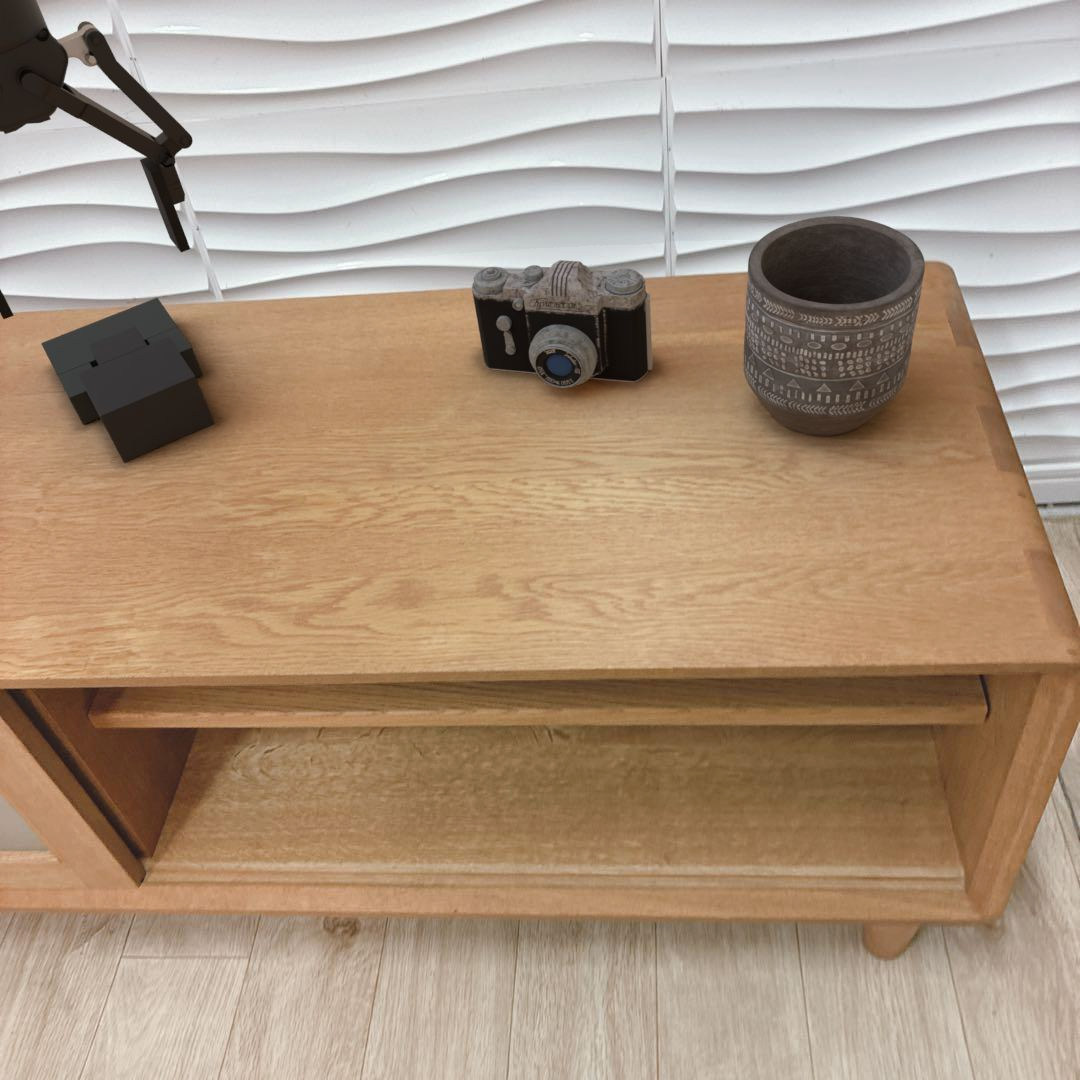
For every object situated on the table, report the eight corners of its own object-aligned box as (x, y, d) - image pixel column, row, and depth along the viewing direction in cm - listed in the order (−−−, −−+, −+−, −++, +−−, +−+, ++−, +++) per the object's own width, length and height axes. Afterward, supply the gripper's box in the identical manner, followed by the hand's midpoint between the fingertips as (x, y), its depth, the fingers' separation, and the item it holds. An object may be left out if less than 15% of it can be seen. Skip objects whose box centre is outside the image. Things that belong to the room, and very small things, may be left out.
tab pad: (124, 463, 89) (99, 416, 85) (90, 399, 95) (66, 353, 92) (215, 423, 91) (195, 376, 87) (175, 363, 98) (156, 317, 94)
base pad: (83, 425, 93) (68, 398, 90) (55, 369, 99) (40, 343, 97) (203, 374, 96) (192, 347, 94) (168, 323, 102) (157, 297, 100)
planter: (847, 338, 90) (865, 199, 81) (932, 424, 82) (962, 279, 73) (715, 381, 88) (717, 242, 79) (789, 472, 80) (801, 330, 71)
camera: (467, 391, 90) (447, 290, 83) (490, 343, 95) (474, 242, 88) (640, 408, 87) (635, 303, 79) (656, 357, 91) (653, 253, 84)
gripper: (135, -91, 72) (231, 200, 87) (-265, 17, 64) (-83, 315, 80) (170, -66, 67) (265, 237, 83) (-257, 53, 60) (-65, 363, 75)
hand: (95, 276), depth 81 cm, fingers open, 13 cm apart
